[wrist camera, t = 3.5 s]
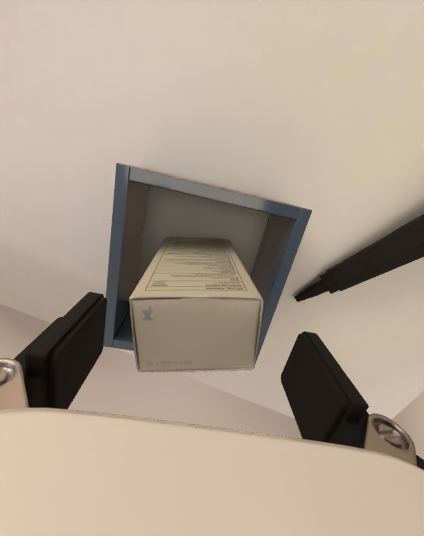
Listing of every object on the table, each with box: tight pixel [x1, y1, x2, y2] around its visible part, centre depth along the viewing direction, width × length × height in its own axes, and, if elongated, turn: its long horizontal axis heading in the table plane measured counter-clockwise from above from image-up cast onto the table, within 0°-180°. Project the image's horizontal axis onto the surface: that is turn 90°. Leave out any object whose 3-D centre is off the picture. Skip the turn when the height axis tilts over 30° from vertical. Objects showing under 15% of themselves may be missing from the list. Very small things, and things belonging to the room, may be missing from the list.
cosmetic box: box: [129, 238, 264, 372], centre depth 17 cm, size 6×4×12 cm
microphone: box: [295, 214, 424, 302], centre depth 21 cm, size 6×6×20 cm
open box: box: [104, 163, 312, 363], centre depth 20 cm, size 13×14×6 cm
